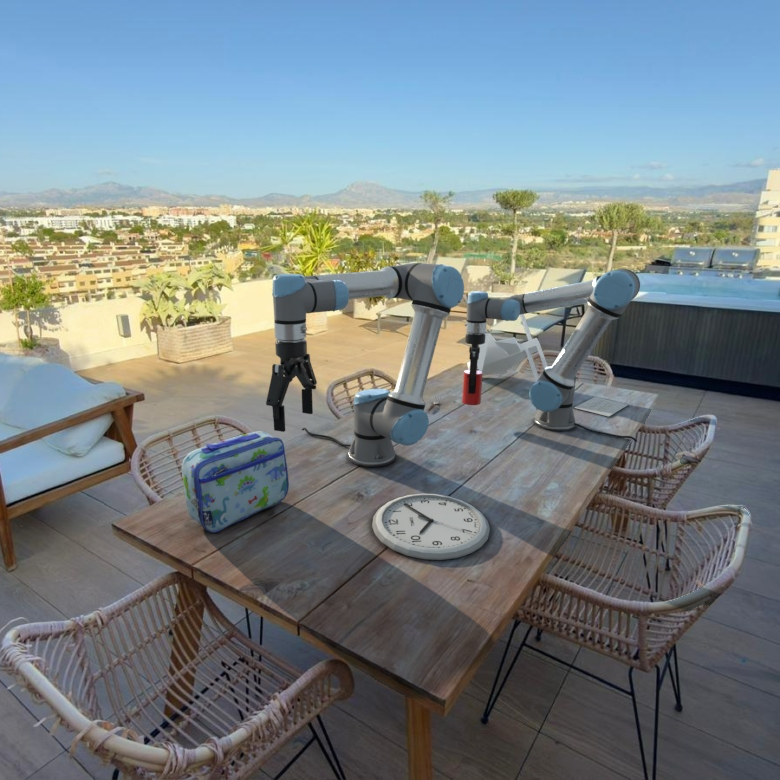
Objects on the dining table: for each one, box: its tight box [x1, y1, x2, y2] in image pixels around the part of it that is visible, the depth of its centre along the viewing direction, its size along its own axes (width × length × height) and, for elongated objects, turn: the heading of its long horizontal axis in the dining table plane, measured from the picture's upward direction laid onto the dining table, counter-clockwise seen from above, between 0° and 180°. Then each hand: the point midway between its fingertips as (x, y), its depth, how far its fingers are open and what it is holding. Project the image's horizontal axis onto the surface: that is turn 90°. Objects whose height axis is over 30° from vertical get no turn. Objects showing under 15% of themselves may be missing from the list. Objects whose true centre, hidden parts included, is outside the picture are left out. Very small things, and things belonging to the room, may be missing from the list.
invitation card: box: [573, 396, 629, 418], centre depth 226 cm, size 21×1×15 cm
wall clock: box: [371, 493, 491, 561], centre depth 134 cm, size 30×2×30 cm
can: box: [461, 369, 483, 406], centre depth 205 cm, size 7×7×13 cm
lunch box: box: [181, 430, 290, 533], centre depth 135 cm, size 26×11×21 cm, turn 134°
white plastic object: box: [466, 314, 549, 383], centre depth 259 cm, size 37×45×31 cm
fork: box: [427, 396, 442, 412], centre depth 222 cm, size 3×16×2 cm, turn 160°
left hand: (294, 421), depth 133 cm, fingers open, 13 cm apart
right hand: (472, 390), depth 206 cm, fingers closed on can, 7 cm apart
